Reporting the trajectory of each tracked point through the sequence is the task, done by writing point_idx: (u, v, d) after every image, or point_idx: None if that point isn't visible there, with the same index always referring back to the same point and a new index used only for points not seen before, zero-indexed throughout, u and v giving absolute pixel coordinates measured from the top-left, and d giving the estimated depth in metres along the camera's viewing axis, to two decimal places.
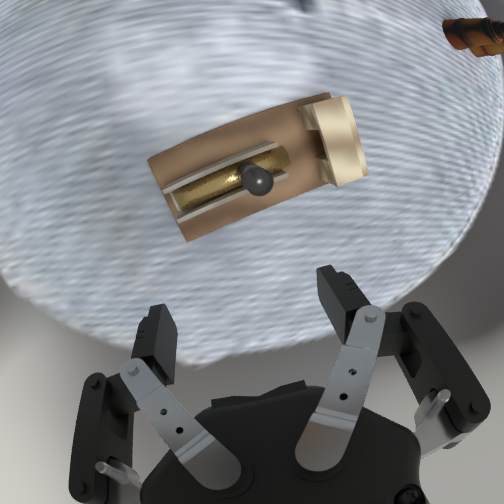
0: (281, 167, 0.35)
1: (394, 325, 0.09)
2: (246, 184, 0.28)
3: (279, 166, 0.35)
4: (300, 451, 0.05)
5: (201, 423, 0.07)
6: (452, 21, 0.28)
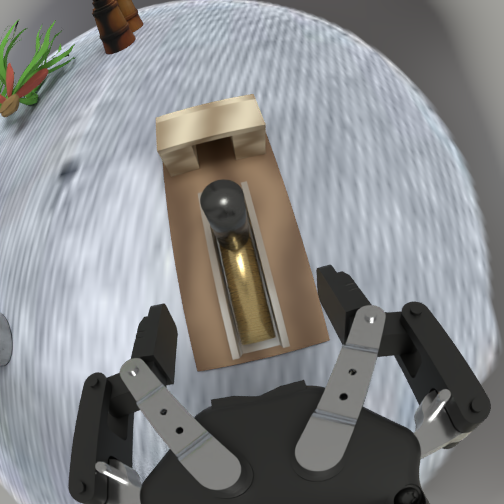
0: None
1: (394, 325, 0.09)
2: (220, 217, 0.18)
3: None
4: (300, 451, 0.05)
5: (201, 423, 0.07)
6: (104, 44, 0.42)
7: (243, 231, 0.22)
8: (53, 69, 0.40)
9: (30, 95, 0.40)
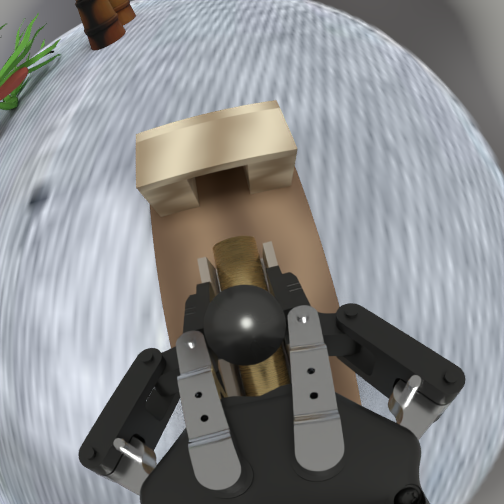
0: (252, 255, 0.19)
1: (329, 326, 0.10)
2: (243, 363, 0.09)
3: (249, 258, 0.18)
4: (300, 451, 0.05)
5: (230, 417, 0.07)
6: (89, 39, 0.34)
7: None
8: (34, 68, 0.32)
9: (9, 98, 0.32)
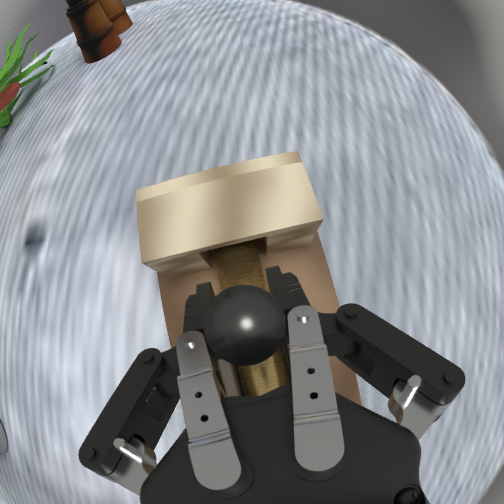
0: (252, 255, 0.19)
1: (329, 326, 0.10)
2: (244, 363, 0.09)
3: (249, 259, 0.18)
4: (300, 451, 0.05)
5: (230, 417, 0.07)
6: (82, 51, 0.32)
7: None
8: (27, 81, 0.30)
9: (1, 115, 0.30)
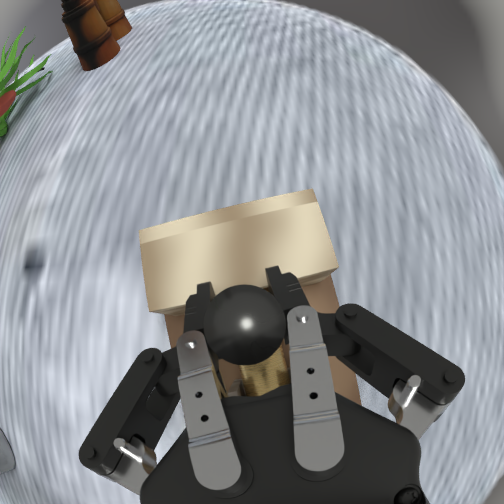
0: None
1: (328, 326, 0.10)
2: (244, 362, 0.09)
3: None
4: (300, 451, 0.05)
5: (231, 417, 0.07)
6: (79, 59, 0.31)
7: None
8: (23, 89, 0.30)
9: None
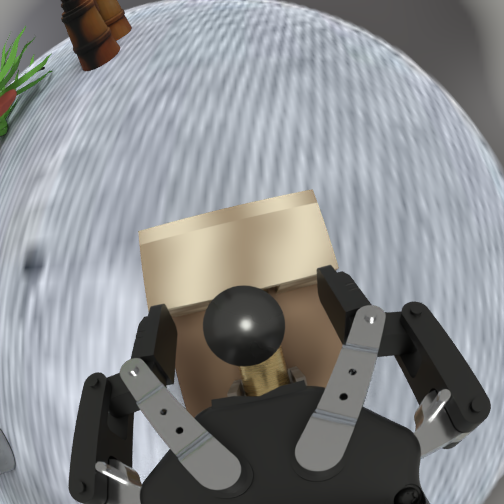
0: None
1: (394, 325, 0.09)
2: (243, 363, 0.09)
3: None
4: (300, 451, 0.05)
5: (201, 423, 0.07)
6: (79, 59, 0.31)
7: None
8: (24, 89, 0.30)
9: None
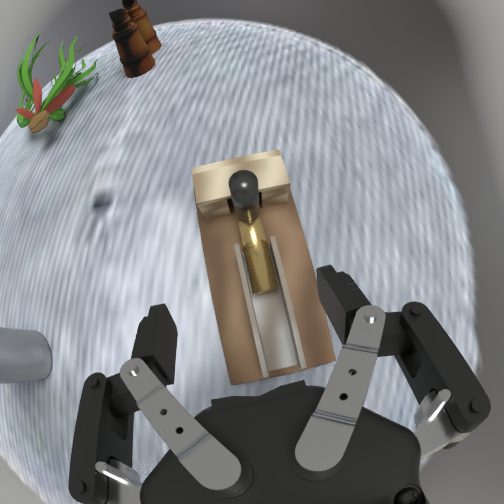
0: None
1: (394, 325, 0.09)
2: (242, 194, 0.27)
3: None
4: (300, 451, 0.05)
5: (201, 423, 0.07)
6: (125, 68, 0.49)
7: (256, 207, 0.31)
8: (79, 85, 0.48)
9: (56, 110, 0.48)
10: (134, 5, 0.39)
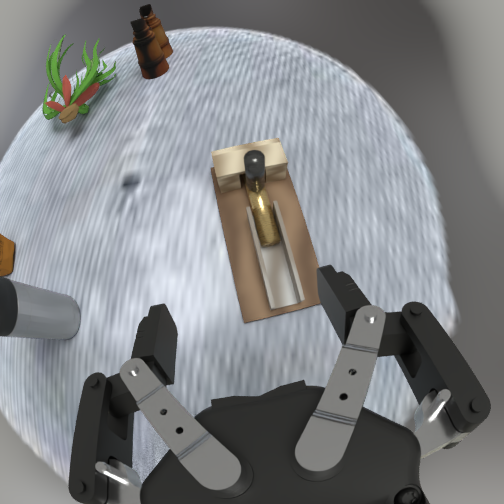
0: None
1: (394, 325, 0.09)
2: (254, 166, 0.36)
3: None
4: (300, 451, 0.05)
5: (201, 423, 0.07)
6: (143, 70, 0.58)
7: (263, 178, 0.41)
8: (102, 83, 0.57)
9: (81, 105, 0.57)
10: (151, 15, 0.49)
